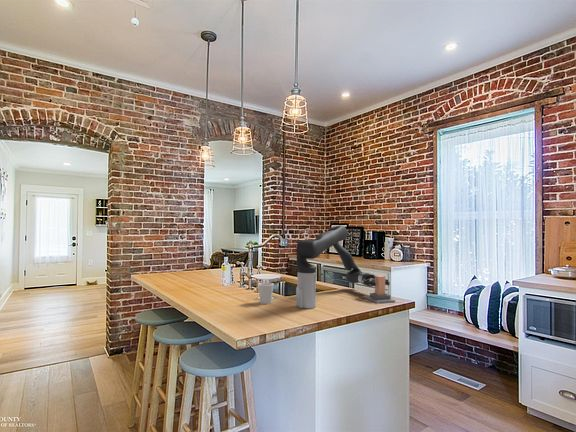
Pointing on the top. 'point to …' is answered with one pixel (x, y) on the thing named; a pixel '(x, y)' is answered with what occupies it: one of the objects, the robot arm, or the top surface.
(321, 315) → the top surface
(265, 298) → the dixie cup
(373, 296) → the socket board
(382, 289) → the terracotta peg
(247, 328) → the top surface
